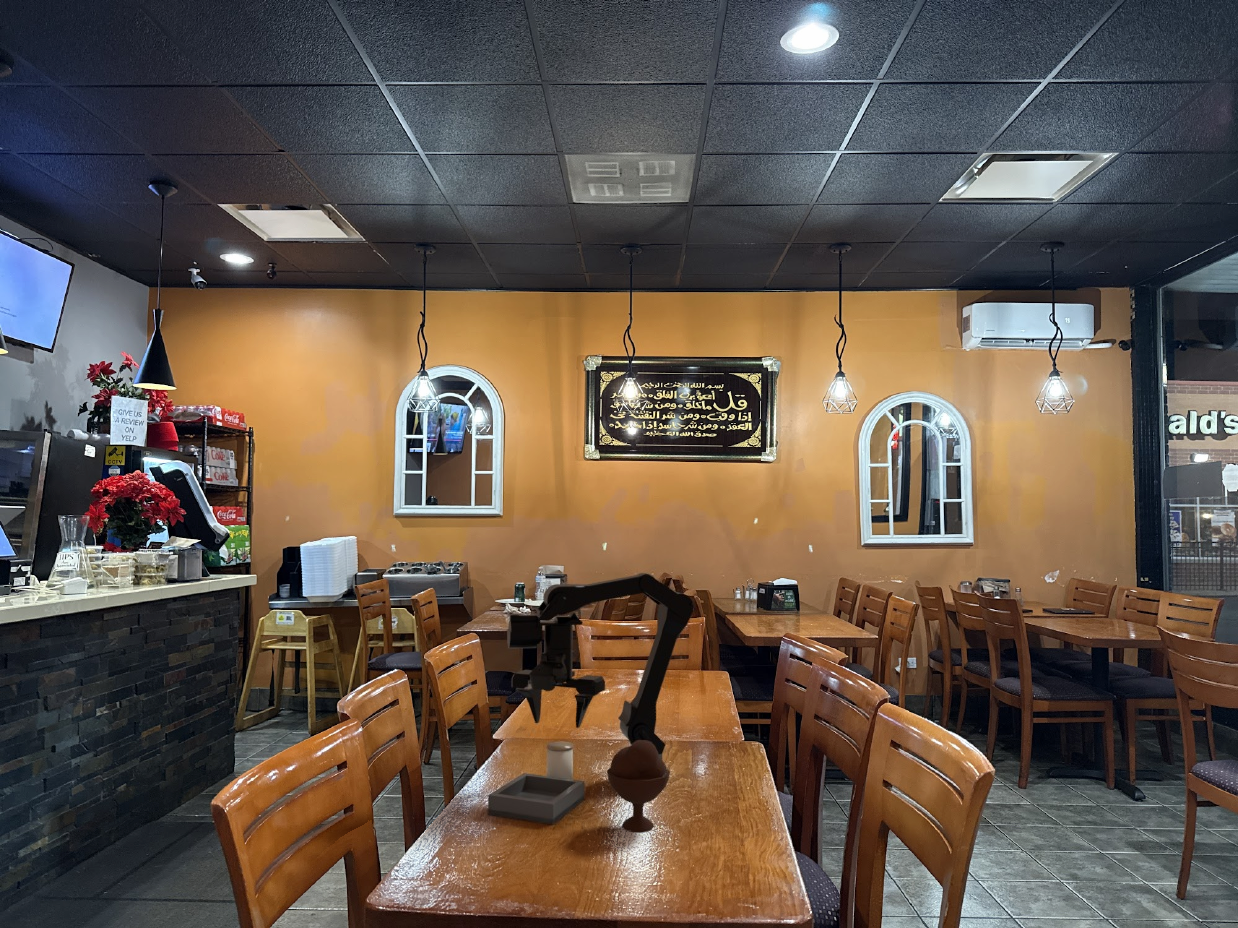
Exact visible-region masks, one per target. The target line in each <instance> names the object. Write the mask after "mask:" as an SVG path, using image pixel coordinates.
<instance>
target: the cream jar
mask: <svg viewBox="0 0 1238 928" xmlns="http://www.w3.org/2000/svg"><path fill="white" fill-rule="evenodd" d="M573 752H574V743H572V742H570V741H569V742H568V741H550V742H548V743H547V744H546V755H547V756H546V776H550V777H558V778H565V779H573V770H574V769H573V764H574V763H573V761H574V753H573Z"/></svg>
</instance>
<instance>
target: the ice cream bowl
mask: <svg viewBox="0 0 1238 928" xmlns="http://www.w3.org/2000/svg"><path fill="white" fill-rule="evenodd" d="M606 772H607V773H606V774H607V779H608V782H609V784H610V786H611V788H612V789H613V790H614V791H615V792H616V794H618V796H619V797H620V798H621V799H623V800H624V801H625V802H629V803H631V804H632V808H633V810H632V811H633V812H632V816H630V817H629V818H627V819H625V820H624V821H623V822H622V825H621V826H622V828H623V830H625V831H628V832H632V833H645V832H649V831H651V830H652V829H654V827H655V826H654V823H653V821H652V820H650V819H649V818H647V817H645V816H644V806H645V804H646V803H649V802H651V801H653V800H655V799H656V798H657V797H658V796H659V795H660V793H662V792H663V790H664V789H666V787H667V784H668V782H669V779H670V774H671V771H670V770H669V769H668V767H667V766H666V764H665V762H664V760H663V759H662V760H661V759H660V758H659V754H658V751H657V749H656V747H655V746H654V745H653V744H652V742H650V741H647V740H637V741H635V742H634V743H633V744H632V745H631V744H630V745H629V746H624V747H623V748H620V749H619V750H618V751H617V752H616V753H615V754H614V756H613V757H612V759H611V762H610V767H609V769H606ZM652 831H653V830H652Z"/></svg>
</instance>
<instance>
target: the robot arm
mask: <svg viewBox="0 0 1238 928" xmlns="http://www.w3.org/2000/svg"><path fill="white" fill-rule="evenodd" d="M639 594H643V595H645V596H646V597H647V598H648V599H650V600H651V601H652V602H653V603H655V604H656V605H657V606H658V608H657V614H656V617H657V619H656V622H657V624H656V627H657V628H656V634H655V637H654V639H653V642H652V646H651V648H650V652H649V656H648V659H647V661H646V664H645V668H644V670H643V673H642V677H641V680H640V683H639V685H638V689H637V692H636V695H635V696H634V697H633V699H632V700H631V701H630V702H629V701H628V700H624V701H623V704H622V705H623V706H622V710H621V713H620V715H619V716H618V720H619V729H620V731H621V733H622V734H623V736H624V737H625V738H626V739H627V740H628V741H629V744H630V746H631V745H632V744H633V743H634V742H635V741H637V740H647V741H650V742H652V744H653V745H654V746H655V747H656V749H657V751H658V754H659V758H660V759H661V760H663V753H664V750H665V747H666V743H665V742H664V741H663V739H661V738H660V737H659V736H658V735H657V734H656V733H655V731H656V726H657V725H656V724H657V702H658V699H659V696H660V692H661V690H662V687H663V683H664V680H665V677H666V674H667V671H668V668H669V665H670V661H671V658H672V655H673V652H674V650H675V646H676V643H677V640H678V638H679V636H681V633H683V631H684V630H685V628H686V627H687V626H688V623H689V621H690V619H691V618H692V615H693V614H694V609H695V605H694V602H693V600H692V598H691V597H690V596H689V595H687V594H685V593H682V592H680V591H679V592H678V591H674V590H673V589H671V588H670V587H668V586H667V585H665V584H664V583H663V582H661V581H660V580H658V579H657V578H655V577H654V576H653V575H652V574H650V573H647V572H646V573H645V572H640V573H638V574H636V575H630V576H625V577H620V578H614V579H608V580H604V581H598V582H592V583H587V584H585V583H584V584H577V583H575V584H573V583H571V584H570V583H568V584H566V583H565V584H564V583H562V584H561V583H559V584H558V583H556V584H552V585H550V586H548V588H546V590H545V591H544V594H543V601H542V602H541V604H539V606H538V608H537V609H536V610H535V612H534V613H533V614H518V613H510V614H509V620H508V626H507V627H508V628H507V629H506V630H507V631H506V634H507V635H506V637H507V638H506V639H507V640H506V642H507V649H509V650H510V649H537V647H538V645H540V644H541V643H542V642H544V645H543V646H544V648H543V649H544V651H543V652H541V655H540V661H539V663H538V664H537V665H535V667H534V668H533V669H531V670H530V669H524V670H520V671H518V672H515V673H513V675H512V677H511V686H510V687H511V688H514V689H516V691H517V692H518V693H520V694H522V695H523V696H524V698H525V699H526V701H527V703H528V706H529V709H530V712H531V714H532V717H533V721H534V723H535V724H539V723H540V719H541V713H542V712H541V710H542V696H543V695H542V693H543V691H545V692H551V691H553V690H555V688H556V687H559V688H568V689H570V688H571V689H575V690H576V691H577V694H575V695H574V698H575V701H576V708H575V709H576V710H575V728H576V729H579V728H580V727H581V725H582V723H583V720H584V717H585V716H586V713H587V710H588V708H589V706H590V704H591V702H592V700H593V698H594V697H595V696H597V695H599V694H600V693H601V692H604V691H606V690H605V689H606V681H605V679H604V677H603V676H602V675H592V674H586V675H583V676H581V677H578V678H573V677H575V676H576V675H575V673H576V671H575V670H573V657H575V656H576V650H573V637H574V636H573V630H574V629H573V627H574V626H581V625H583V621H582V620H581V619H580V618H579V617H578V616H577V613H576V612H575V611H578V610H579V609H582V608H584V607H586V606H588V605H590V604H592V603H593V604H594V603H598V602H604V601H609V600H614V599H618V598H624V597H629V596H635V595H639ZM567 614H569V615H567ZM558 615H559V616H558ZM564 615H565V616H564ZM566 615H567V616H566ZM552 619H554V620H552ZM543 626H544V632H543ZM543 633H544V639H543ZM543 640H544V641H543Z"/></svg>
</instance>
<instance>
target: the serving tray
mask: <svg viewBox="0 0 1238 928" xmlns="http://www.w3.org/2000/svg"><path fill="white" fill-rule="evenodd" d="M585 783H586V781H584V780H581V779H580V780H579V779H573V778H572V779H565V778H558V777H550V776H547V775H541V774H534V773H527V772H526V773H525V772H523V773H522V774H520V775H518V776H516V778H514V779H512V780H510V781H508V782H507V783H505V784H504V785H502V786H500V787H499V788H497V789H496V790H494V791H492V792H491V793H489V794H488V796H487V797H488V801H487V803H488V805H487V815H489V816H494V817H500V818H506V819H507V818H508V819H513V820H519V821H520V820H521V821H525V822H531V823H532V822H533V823H539V824H544V825H551V826H554V825H555V824H556V823H558V822H559V821H560V820H561V819H563V817H565V816H566V815H567V814H568V813H570V812H571V811H572V810H574V809H575V808H577V806H579V804H581V803H583V802H584V801H585V788H586V787H585Z"/></svg>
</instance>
